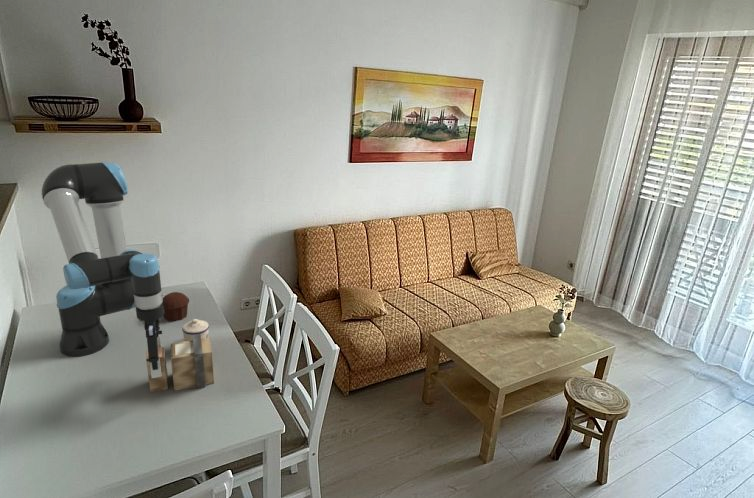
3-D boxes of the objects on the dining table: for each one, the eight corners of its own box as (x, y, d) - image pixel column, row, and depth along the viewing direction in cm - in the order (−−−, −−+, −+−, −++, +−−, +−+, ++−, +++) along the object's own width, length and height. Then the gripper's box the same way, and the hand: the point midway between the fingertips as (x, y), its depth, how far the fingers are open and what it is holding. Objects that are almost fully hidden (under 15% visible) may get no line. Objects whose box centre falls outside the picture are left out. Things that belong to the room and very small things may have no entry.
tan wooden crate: (174, 393, 144) (170, 358, 139) (174, 371, 154) (170, 338, 149) (214, 385, 148) (212, 351, 144) (211, 365, 159) (209, 332, 154)
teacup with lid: (211, 352, 166) (209, 324, 162) (184, 356, 163) (181, 327, 159) (209, 335, 176) (207, 308, 172) (184, 338, 173) (181, 311, 169)
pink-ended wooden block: (150, 392, 144) (146, 359, 139) (151, 380, 149) (146, 349, 144) (167, 388, 146) (164, 356, 141) (167, 377, 151) (164, 346, 146)
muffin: (183, 324, 183) (181, 302, 179) (155, 322, 183) (153, 300, 179) (194, 310, 194) (193, 289, 191) (168, 308, 194) (166, 287, 191)
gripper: (162, 321, 128) (170, 385, 135) (163, 286, 149) (170, 342, 156) (132, 326, 125) (141, 390, 132) (137, 289, 146) (145, 346, 153)
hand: (157, 364), depth 144 cm, fingers open, 13 cm apart
